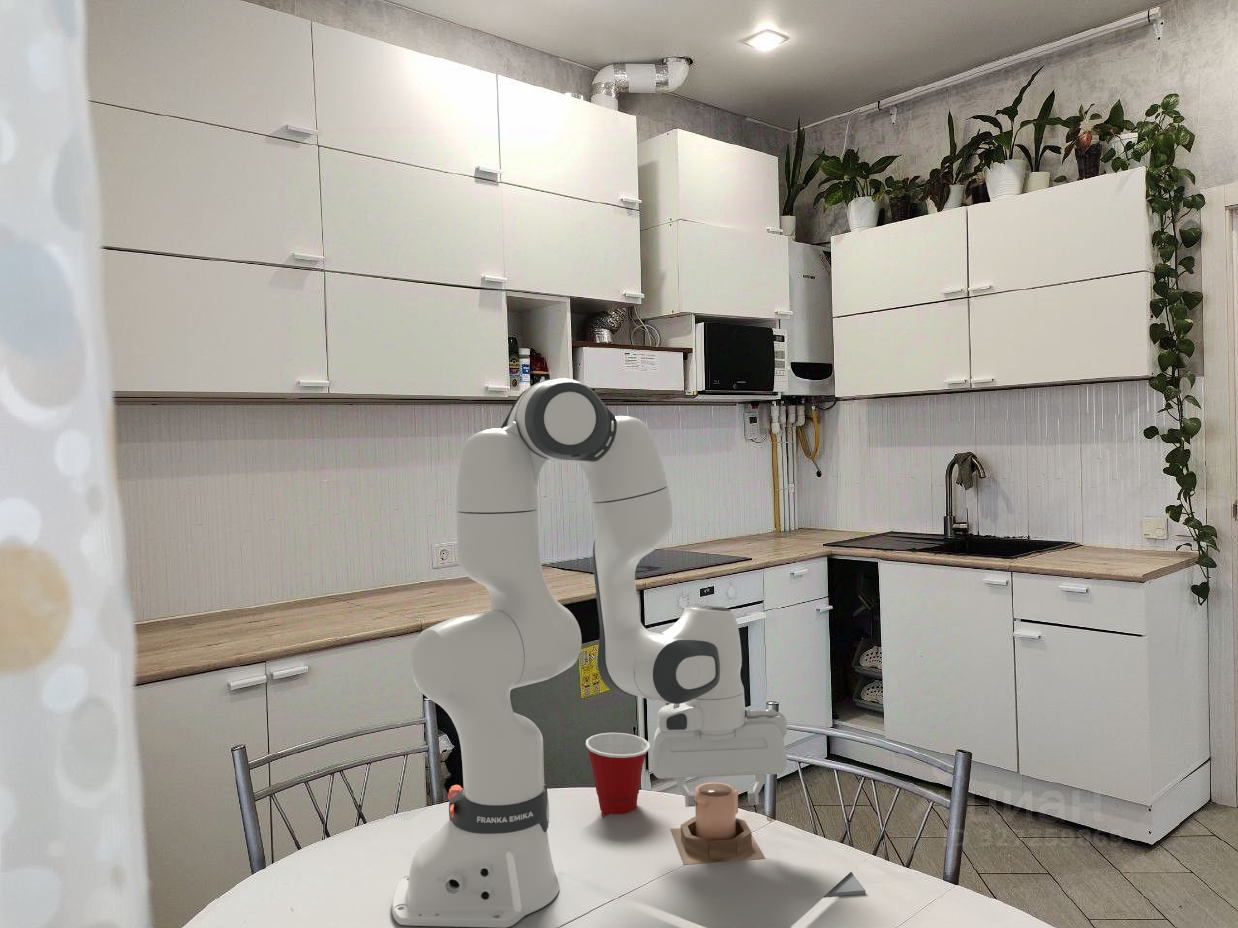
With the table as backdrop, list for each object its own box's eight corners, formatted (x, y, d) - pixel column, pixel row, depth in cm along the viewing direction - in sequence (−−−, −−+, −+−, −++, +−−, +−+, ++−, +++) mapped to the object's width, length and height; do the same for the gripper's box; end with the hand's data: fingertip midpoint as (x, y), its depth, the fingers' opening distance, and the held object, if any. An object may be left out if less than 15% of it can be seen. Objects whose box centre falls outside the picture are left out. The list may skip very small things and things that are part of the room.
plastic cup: (646, 828, 140) (644, 753, 140) (580, 824, 142) (578, 750, 142) (656, 801, 151) (654, 731, 151) (595, 797, 153) (593, 729, 153)
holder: (683, 871, 125) (683, 849, 125) (670, 835, 137) (669, 814, 137) (765, 864, 127) (765, 843, 126) (745, 829, 138) (744, 809, 138)
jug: (718, 857, 127) (717, 802, 127) (684, 846, 131) (683, 793, 131) (751, 835, 134) (750, 783, 134) (718, 825, 138) (717, 774, 138)
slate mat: (792, 899, 117) (792, 895, 117) (772, 864, 127) (772, 861, 127) (865, 893, 118) (865, 889, 118) (839, 859, 128) (839, 855, 128)
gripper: (783, 703, 134) (789, 793, 134) (649, 709, 136) (655, 798, 135) (788, 714, 128) (794, 809, 127) (648, 720, 129) (654, 814, 129)
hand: (721, 804), depth 131 cm, fingers open, 8 cm apart
